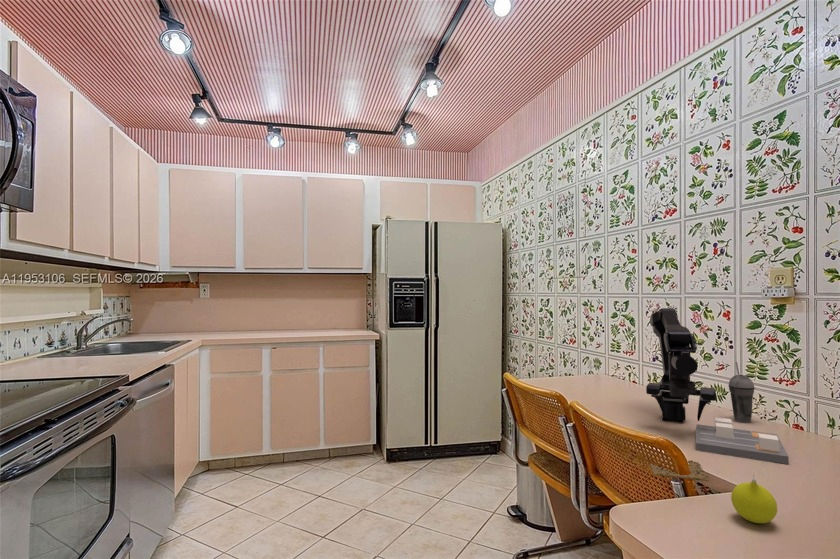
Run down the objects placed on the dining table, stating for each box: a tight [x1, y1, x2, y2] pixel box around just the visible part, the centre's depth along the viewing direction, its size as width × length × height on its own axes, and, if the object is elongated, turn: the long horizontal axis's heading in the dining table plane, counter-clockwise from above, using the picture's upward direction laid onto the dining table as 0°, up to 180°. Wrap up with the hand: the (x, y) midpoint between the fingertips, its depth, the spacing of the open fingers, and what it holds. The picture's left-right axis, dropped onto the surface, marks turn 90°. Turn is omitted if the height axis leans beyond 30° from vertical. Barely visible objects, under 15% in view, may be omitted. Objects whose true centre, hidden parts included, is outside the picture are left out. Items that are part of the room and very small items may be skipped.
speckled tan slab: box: [649, 460, 710, 482], centre depth 109 cm, size 12×12×1 cm
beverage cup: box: [728, 361, 756, 424], centre depth 147 cm, size 7×7×20 cm
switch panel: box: [695, 423, 790, 465], centre depth 124 cm, size 20×20×2 cm
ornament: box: [730, 474, 778, 524], centre depth 84 cm, size 7×7×10 cm
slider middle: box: [715, 423, 734, 439], centre depth 126 cm, size 4×4×3 cm
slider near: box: [758, 433, 780, 452], centre depth 116 cm, size 4×4×3 cm
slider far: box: [714, 417, 733, 426], centre depth 131 cm, size 4×4×3 cm
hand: (681, 418), depth 137 cm, fingers open, 9 cm apart
